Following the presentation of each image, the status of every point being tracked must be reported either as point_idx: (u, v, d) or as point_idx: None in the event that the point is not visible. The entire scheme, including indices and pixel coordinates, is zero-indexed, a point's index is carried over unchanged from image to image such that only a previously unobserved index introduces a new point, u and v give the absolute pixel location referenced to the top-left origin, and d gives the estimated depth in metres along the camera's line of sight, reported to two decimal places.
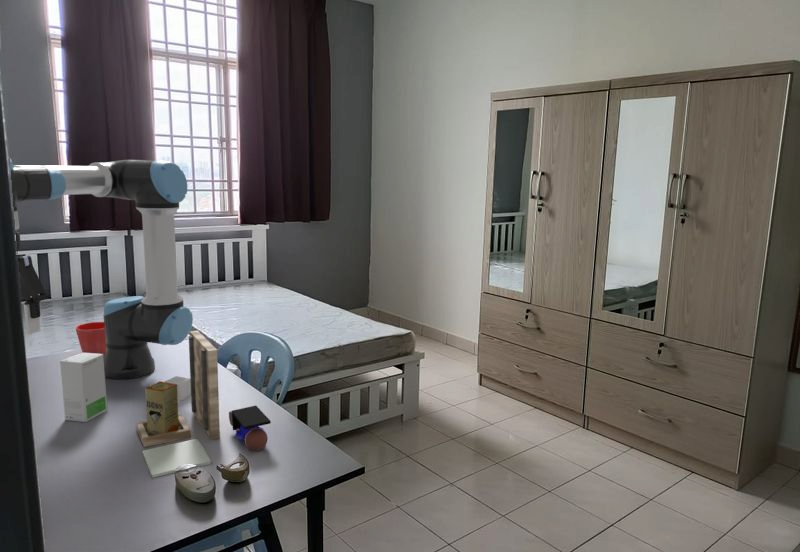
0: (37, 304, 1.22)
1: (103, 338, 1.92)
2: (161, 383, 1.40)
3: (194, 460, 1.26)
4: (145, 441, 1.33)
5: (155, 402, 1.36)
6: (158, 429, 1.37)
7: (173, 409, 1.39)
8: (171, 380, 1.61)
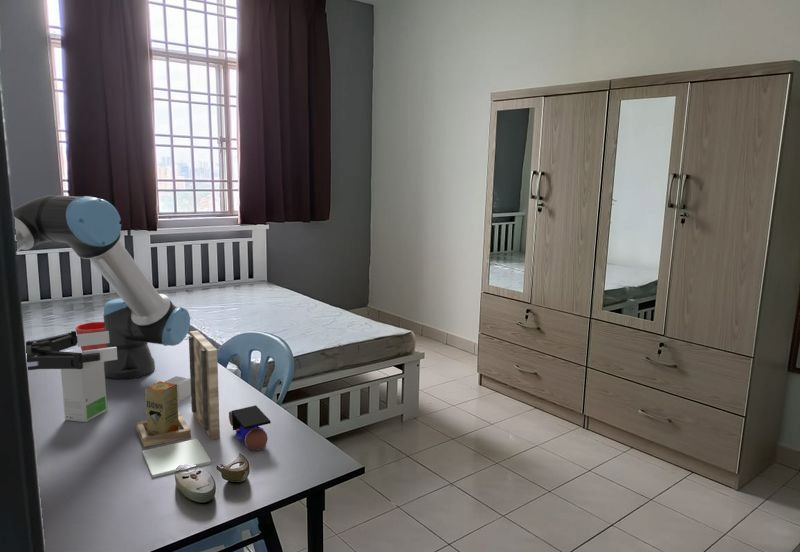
0: (84, 358, 1.20)
1: None
2: (161, 383, 1.40)
3: (194, 460, 1.26)
4: (145, 441, 1.33)
5: (155, 402, 1.36)
6: (158, 429, 1.37)
7: (173, 409, 1.39)
8: (171, 380, 1.61)
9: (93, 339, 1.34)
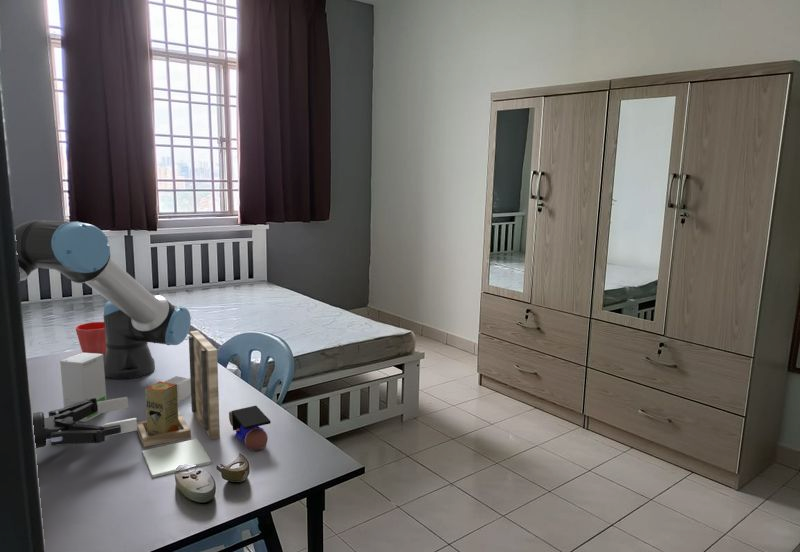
0: (106, 431, 1.25)
1: (103, 338, 1.92)
2: (161, 383, 1.40)
3: (194, 460, 1.26)
4: (145, 441, 1.33)
5: (155, 402, 1.36)
6: (158, 429, 1.37)
7: (173, 409, 1.39)
8: (171, 380, 1.61)
9: (113, 406, 1.38)
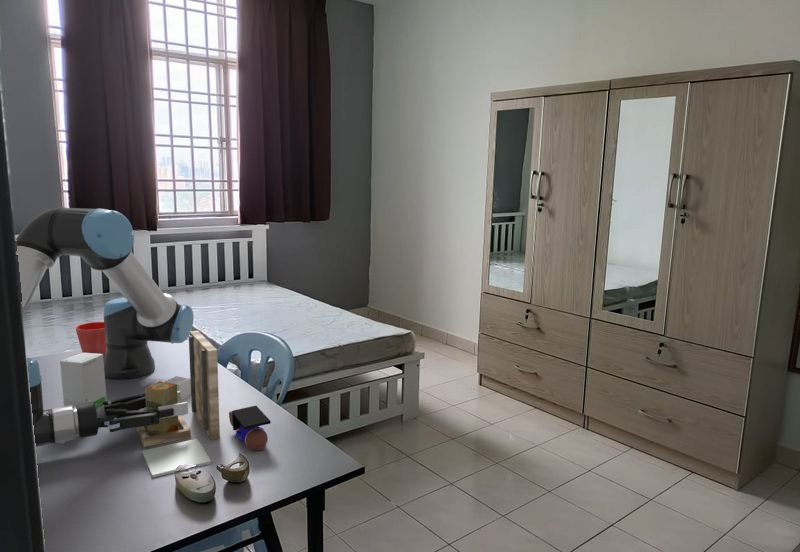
0: (161, 414, 1.33)
1: (103, 338, 1.92)
2: (161, 382, 1.40)
3: (194, 460, 1.26)
4: (145, 441, 1.33)
5: (155, 402, 1.36)
6: (157, 429, 1.37)
7: None
8: (171, 380, 1.61)
9: None
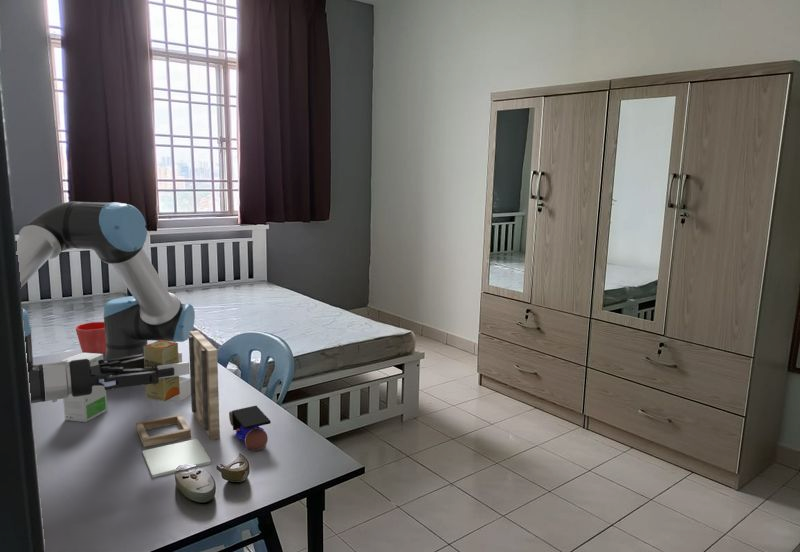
0: (160, 373, 1.24)
1: (103, 338, 1.92)
2: (161, 341, 1.30)
3: (194, 460, 1.26)
4: (145, 441, 1.33)
5: (154, 360, 1.26)
6: (157, 391, 1.27)
7: None
8: None
9: None
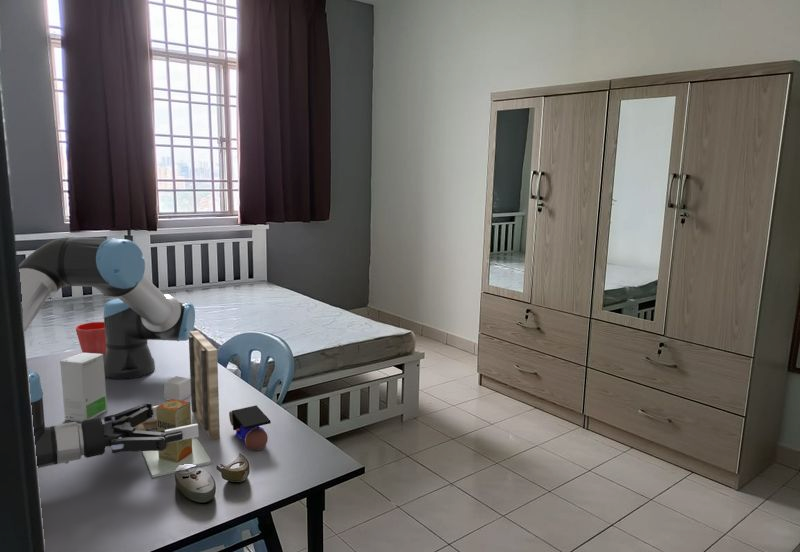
0: (168, 438, 1.18)
1: (103, 338, 1.92)
2: (173, 400, 1.28)
3: (194, 460, 1.26)
4: None
5: (167, 422, 1.24)
6: (170, 452, 1.25)
7: None
8: (171, 380, 1.61)
9: None
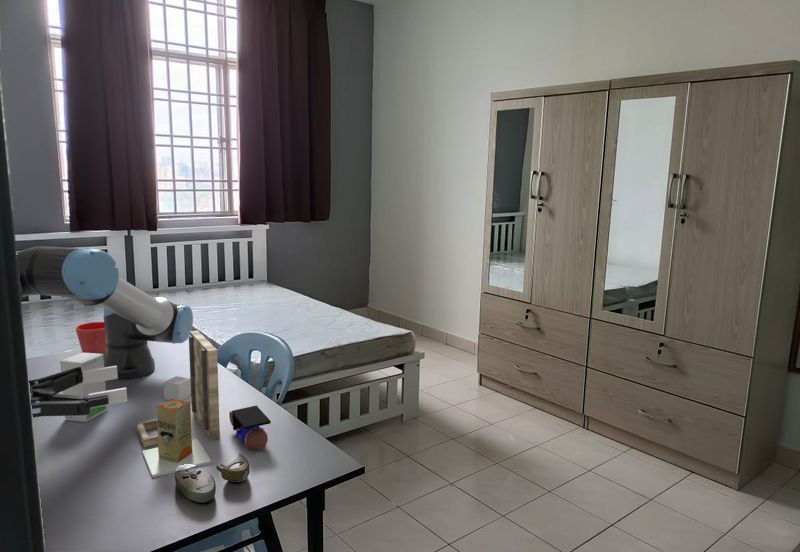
0: (91, 402, 1.09)
1: (103, 338, 1.92)
2: (173, 400, 1.28)
3: (194, 460, 1.26)
4: (145, 441, 1.33)
5: (167, 422, 1.24)
6: (170, 452, 1.25)
7: (186, 429, 1.27)
8: (171, 380, 1.61)
9: (100, 376, 1.23)
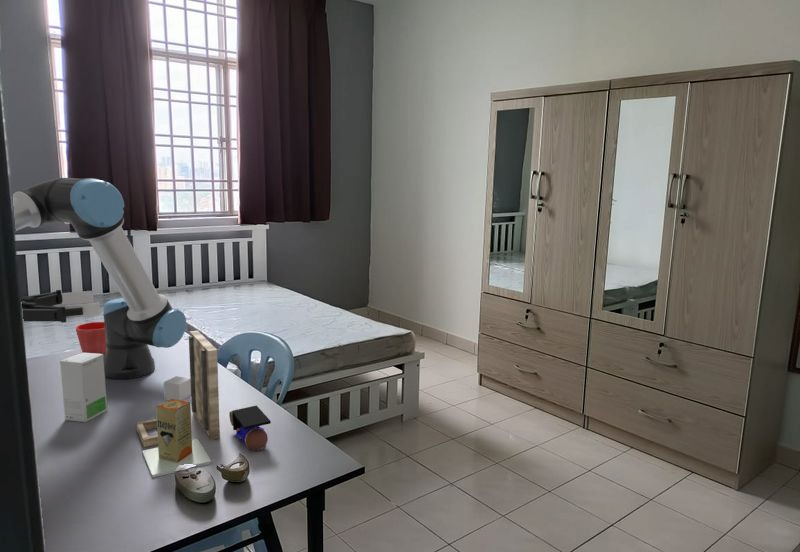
0: (67, 312, 1.24)
1: (103, 338, 1.92)
2: (173, 400, 1.28)
3: (194, 460, 1.26)
4: (145, 441, 1.33)
5: (167, 422, 1.24)
6: (170, 452, 1.25)
7: (186, 429, 1.27)
8: (171, 380, 1.61)
9: (78, 298, 1.38)
